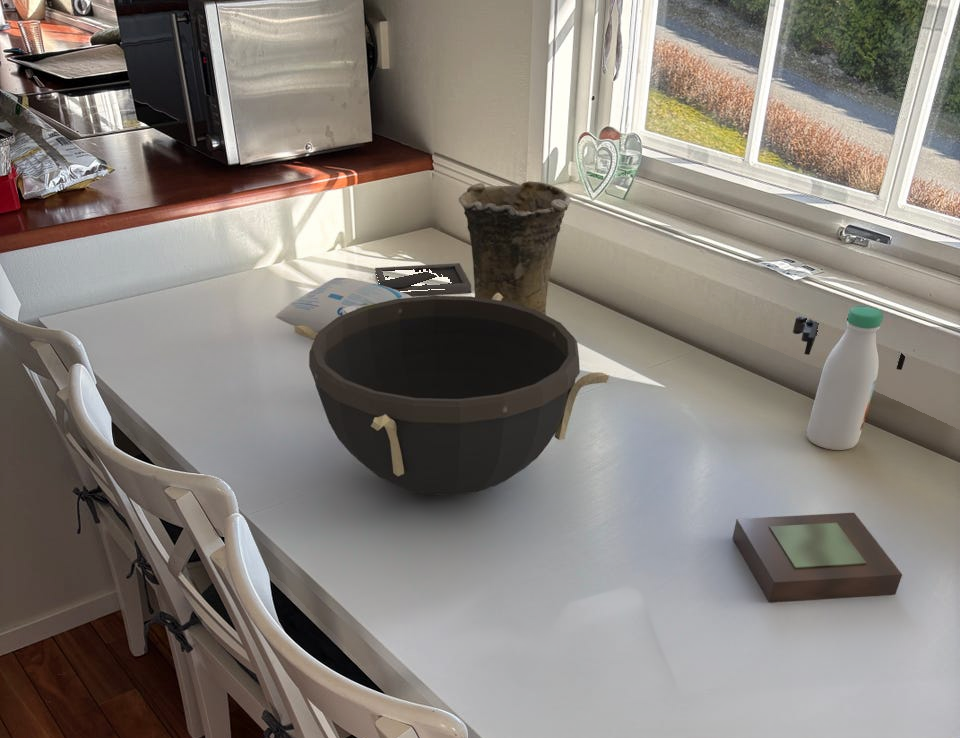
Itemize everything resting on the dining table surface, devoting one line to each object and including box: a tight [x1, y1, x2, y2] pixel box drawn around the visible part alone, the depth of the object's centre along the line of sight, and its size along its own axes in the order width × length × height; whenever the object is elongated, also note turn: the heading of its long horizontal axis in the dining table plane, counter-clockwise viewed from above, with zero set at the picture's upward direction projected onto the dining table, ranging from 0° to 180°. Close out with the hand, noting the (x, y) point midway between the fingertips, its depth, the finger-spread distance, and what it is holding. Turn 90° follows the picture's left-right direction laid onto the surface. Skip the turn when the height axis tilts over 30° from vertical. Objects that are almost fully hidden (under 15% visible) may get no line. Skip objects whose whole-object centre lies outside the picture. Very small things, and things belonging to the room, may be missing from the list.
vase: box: [458, 180, 572, 315], centre depth 163 cm, size 18×18×27 cm
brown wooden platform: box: [732, 512, 903, 603], centre depth 120 cm, size 16×14×3 cm
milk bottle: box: [806, 306, 883, 451], centre depth 140 cm, size 8×8×20 cm
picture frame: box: [374, 262, 472, 297], centre depth 196 cm, size 13×2×18 cm
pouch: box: [274, 277, 413, 334], centre depth 175 cm, size 8×19×20 cm
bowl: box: [293, 293, 610, 496], centre depth 130 cm, size 35×35×20 cm
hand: (854, 353), depth 145 cm, fingers open, 13 cm apart
